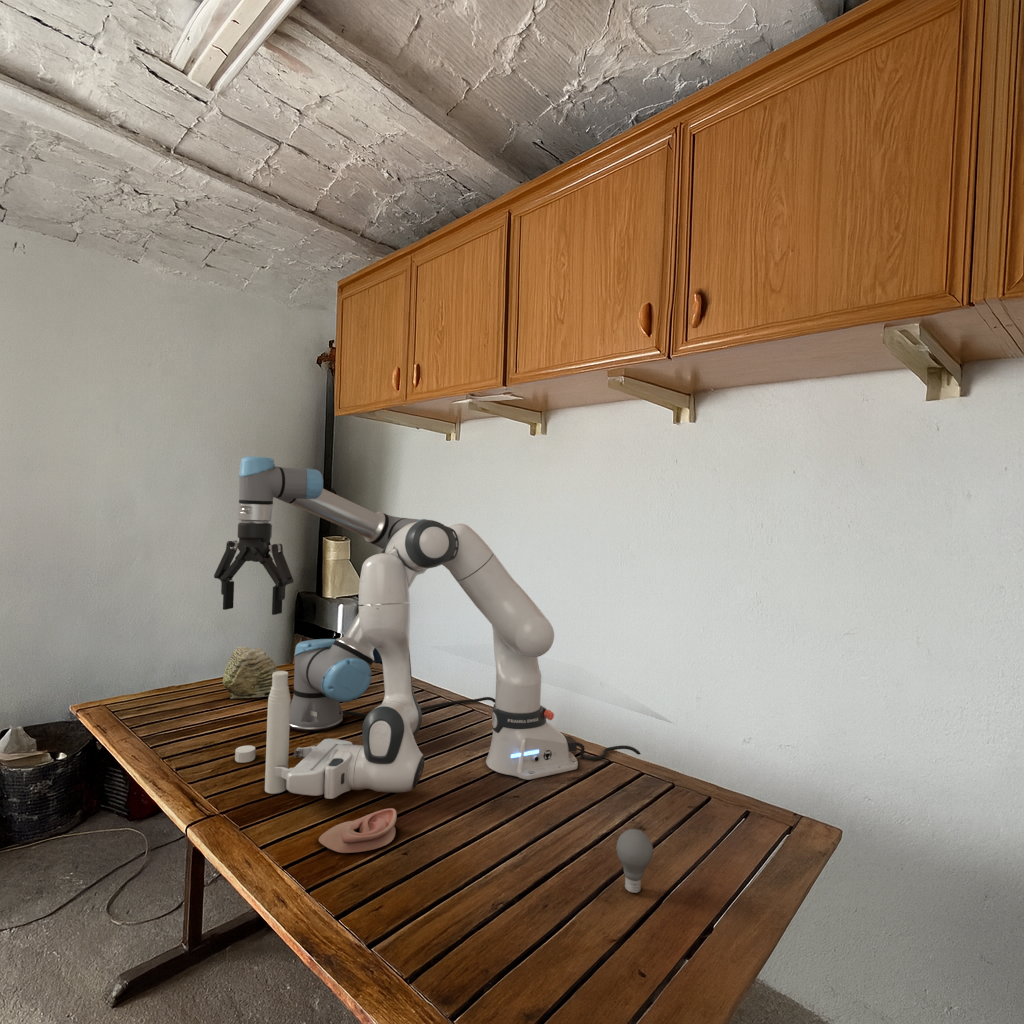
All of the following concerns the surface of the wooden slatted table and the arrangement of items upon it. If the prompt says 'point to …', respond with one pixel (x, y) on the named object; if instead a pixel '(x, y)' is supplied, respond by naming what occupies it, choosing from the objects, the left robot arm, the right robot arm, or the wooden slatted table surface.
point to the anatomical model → (362, 833)
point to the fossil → (249, 673)
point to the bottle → (277, 731)
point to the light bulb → (634, 857)
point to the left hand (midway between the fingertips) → (252, 611)
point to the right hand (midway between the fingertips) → (285, 761)
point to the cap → (245, 754)
